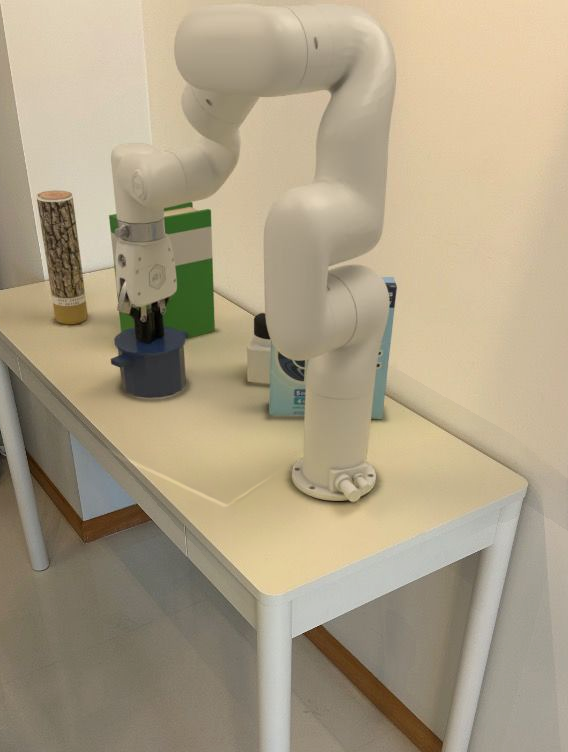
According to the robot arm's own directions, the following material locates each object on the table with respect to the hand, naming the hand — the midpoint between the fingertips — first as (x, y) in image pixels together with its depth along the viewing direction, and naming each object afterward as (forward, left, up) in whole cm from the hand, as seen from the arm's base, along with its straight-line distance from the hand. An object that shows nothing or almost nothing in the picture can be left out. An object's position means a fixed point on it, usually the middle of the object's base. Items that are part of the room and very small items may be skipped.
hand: (150, 337), depth 140 cm
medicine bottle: (-4, -21, -9) cm, 23 cm away
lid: (0, 0, -1) cm, 1 cm away
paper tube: (+37, +8, -9) cm, 39 cm away
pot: (0, 0, -9) cm, 9 cm away
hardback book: (+22, -9, -9) cm, 26 cm away
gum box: (-20, -25, -9) cm, 33 cm away
